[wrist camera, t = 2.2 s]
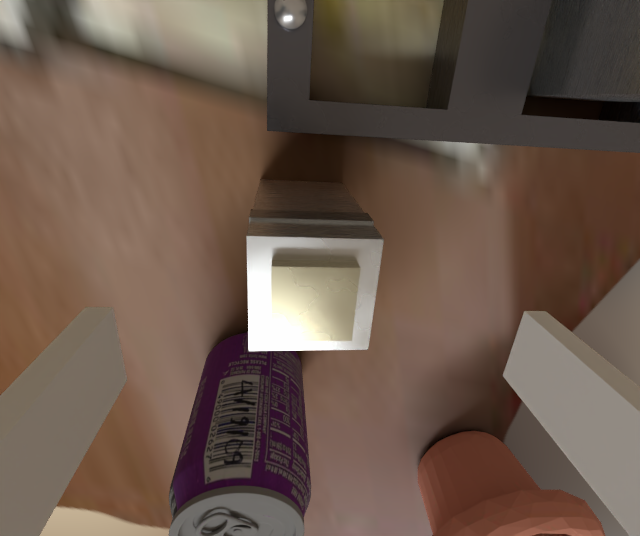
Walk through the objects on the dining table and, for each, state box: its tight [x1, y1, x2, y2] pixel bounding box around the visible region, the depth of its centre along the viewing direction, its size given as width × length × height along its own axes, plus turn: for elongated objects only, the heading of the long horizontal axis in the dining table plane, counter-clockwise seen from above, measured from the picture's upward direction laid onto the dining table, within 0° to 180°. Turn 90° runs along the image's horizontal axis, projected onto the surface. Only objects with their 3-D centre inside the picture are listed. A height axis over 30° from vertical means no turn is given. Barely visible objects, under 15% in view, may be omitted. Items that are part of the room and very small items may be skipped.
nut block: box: [247, 179, 384, 351], centre depth 19 cm, size 5×5×11 cm
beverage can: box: [169, 333, 311, 536], centre depth 22 cm, size 7×7×12 cm
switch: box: [267, 0, 640, 153], centre depth 15 cm, size 22×10×11 cm, turn 86°
